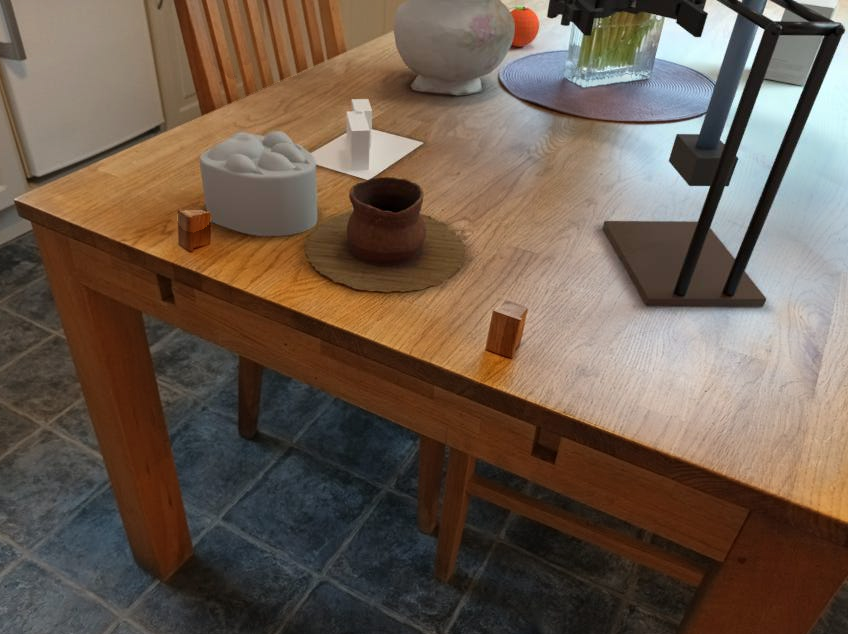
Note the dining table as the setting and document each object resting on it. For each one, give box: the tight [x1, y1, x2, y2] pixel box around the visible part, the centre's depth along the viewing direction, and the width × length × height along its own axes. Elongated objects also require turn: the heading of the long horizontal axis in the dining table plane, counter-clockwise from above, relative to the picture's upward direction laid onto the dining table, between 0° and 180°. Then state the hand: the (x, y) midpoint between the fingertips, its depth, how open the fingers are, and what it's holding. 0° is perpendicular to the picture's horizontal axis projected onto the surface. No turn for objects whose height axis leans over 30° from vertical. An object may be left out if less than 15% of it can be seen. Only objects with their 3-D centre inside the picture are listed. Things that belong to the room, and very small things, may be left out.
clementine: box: [509, 6, 540, 48], centre depth 139 cm, size 8×7×7 cm
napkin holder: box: [310, 98, 424, 181], centre depth 98 cm, size 15×11×6 cm
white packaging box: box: [764, 0, 839, 86], centre depth 125 cm, size 7×7×13 cm
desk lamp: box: [602, 0, 846, 308], centre depth 70 cm, size 17×12×26 cm
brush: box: [668, 0, 768, 187], centre depth 68 cm, size 6×10×18 cm, turn 91°
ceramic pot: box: [304, 176, 467, 293], centre depth 77 cm, size 18×18×7 cm
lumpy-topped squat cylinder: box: [199, 130, 318, 237], centre depth 83 cm, size 10×13×9 cm
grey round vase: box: [393, 0, 515, 96], centre depth 116 cm, size 22×20×25 cm
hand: (646, 24), depth 86 cm, fingers open, 13 cm apart
